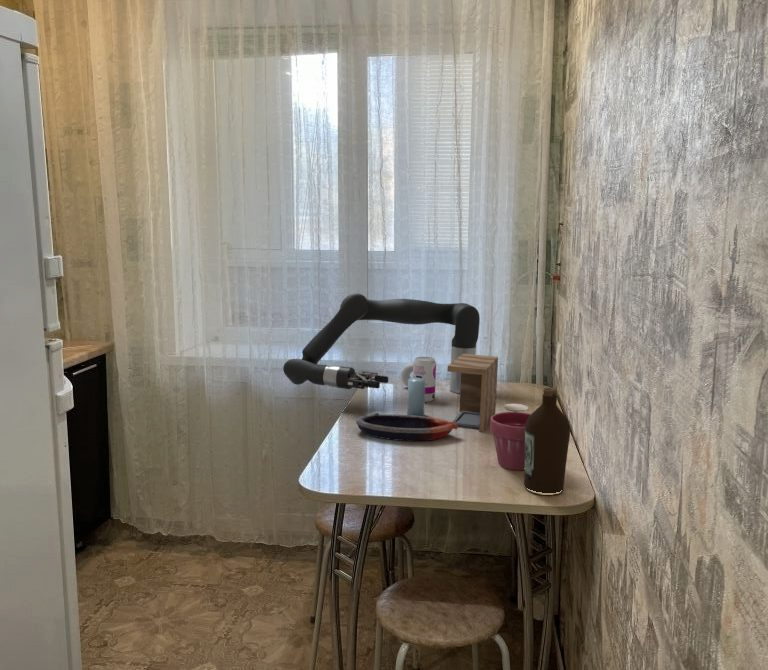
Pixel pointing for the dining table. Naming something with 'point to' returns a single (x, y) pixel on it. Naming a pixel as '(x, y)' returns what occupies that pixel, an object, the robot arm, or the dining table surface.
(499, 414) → the plant pot
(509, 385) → the dining table surface
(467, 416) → the tray
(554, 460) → the olive oil
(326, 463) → the dining table surface
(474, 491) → the dining table surface
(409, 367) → the donut
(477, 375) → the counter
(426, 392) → the supplement can
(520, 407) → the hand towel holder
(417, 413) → the tall pale blue cylinder
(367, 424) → the dish
